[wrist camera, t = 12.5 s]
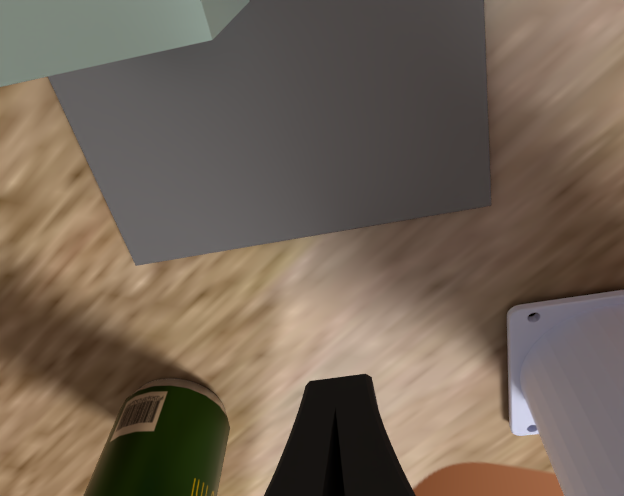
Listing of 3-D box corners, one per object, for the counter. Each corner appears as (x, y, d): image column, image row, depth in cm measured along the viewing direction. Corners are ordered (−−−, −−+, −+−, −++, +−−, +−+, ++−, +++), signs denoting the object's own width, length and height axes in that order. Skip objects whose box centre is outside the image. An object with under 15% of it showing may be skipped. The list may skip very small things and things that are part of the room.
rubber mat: (467, -318, 12) (471, -325, 12) (488, 200, 20) (491, 205, 19) (-55, -161, 14) (-64, -164, 14) (138, 260, 22) (135, 265, 21)
